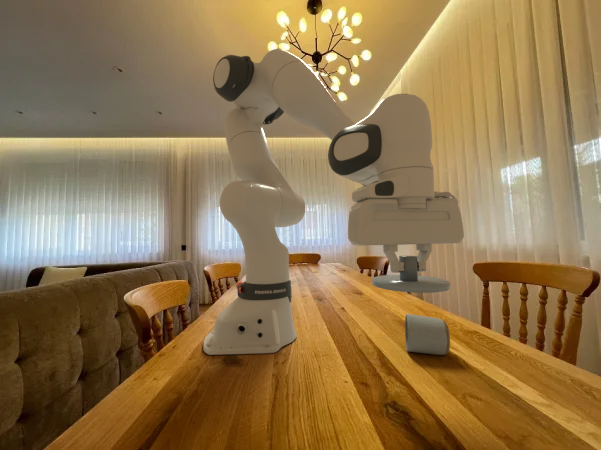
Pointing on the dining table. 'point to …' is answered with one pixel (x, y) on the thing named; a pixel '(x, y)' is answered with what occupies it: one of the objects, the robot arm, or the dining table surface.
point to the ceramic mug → (426, 335)
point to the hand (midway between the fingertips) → (408, 271)
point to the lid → (410, 279)
